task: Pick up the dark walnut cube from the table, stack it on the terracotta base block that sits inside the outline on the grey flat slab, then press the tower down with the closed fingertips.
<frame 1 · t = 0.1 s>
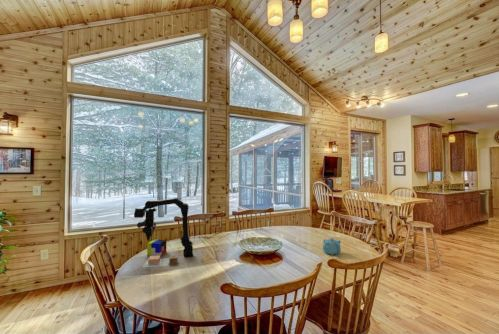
hand: (149, 238, 178), 15 cm above the table, fingers open, 9 cm apart
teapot: (332, 253, 191), on the table
walnut cube: (173, 264, 167), on the table
grey flat slab: (156, 263, 167), on the table
terracotta base: (154, 261, 169), point 1 cm above the table, touching grey flat slab
puzzle toy: (156, 254, 185), on the table
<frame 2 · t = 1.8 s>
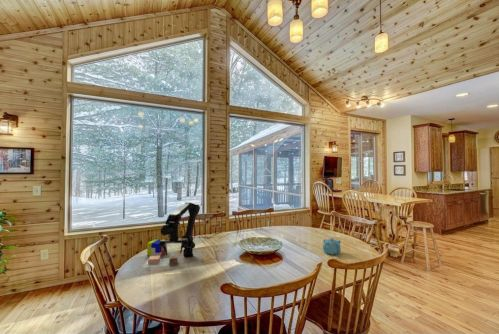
hand: (173, 254, 167), 7 cm above the table, fingers open, 9 cm apart
nothing on the table moved.
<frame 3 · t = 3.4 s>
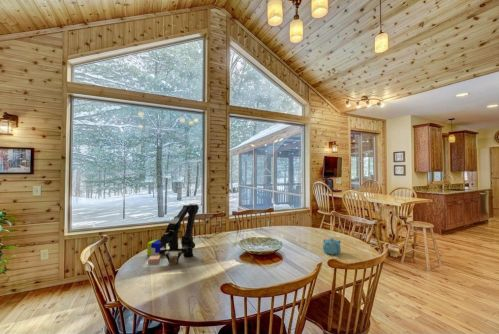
hand: (173, 262, 167), 1 cm above the table, fingers closed on walnut cube, 5 cm apart
walnut cube: (173, 264, 167), on the table, touching gripper
everything else where it was.
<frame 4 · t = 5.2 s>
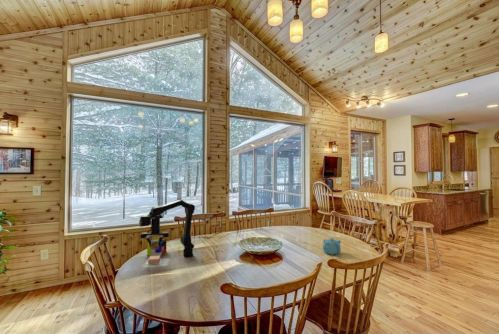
hand: (155, 247, 169), 11 cm above the table, fingers closed on walnut cube, 5 cm apart
walnut cube: (155, 248, 169), point 10 cm above the table, touching gripper
everything else where it was.
when the fingers open (6 cm above the table, at t = 6.9 s): walnut cube drops 1 cm, resting on terracotta base.
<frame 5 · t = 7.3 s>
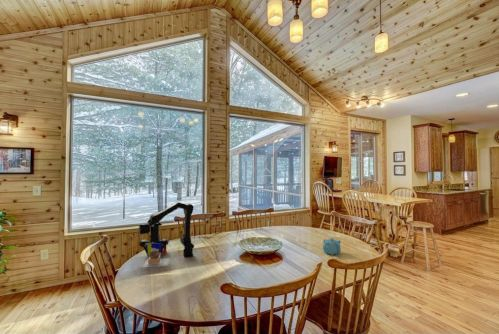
hand: (154, 254, 169), 6 cm above the table, fingers open, 9 cm apart
walnut cube: (154, 257, 169), point 4 cm above the table, touching terracotta base
terracotta base: (154, 261, 169), point 1 cm above the table, touching grey flat slab, walnut cube
everything else where it was.
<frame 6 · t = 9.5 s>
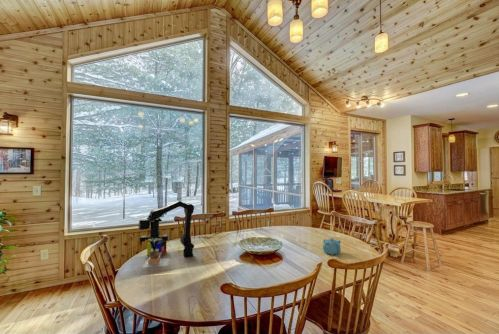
hand: (154, 250, 169), 9 cm above the table, fingers closed
nothing on the table moved.
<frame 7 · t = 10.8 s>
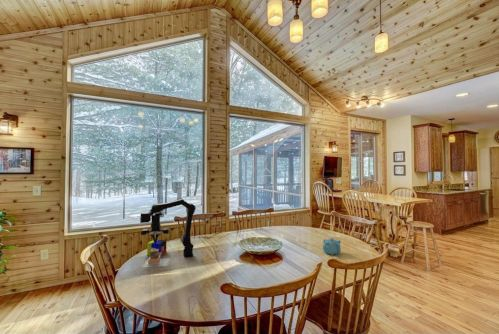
hand: (155, 243, 173), 12 cm above the table, fingers closed
nothing on the table moved.
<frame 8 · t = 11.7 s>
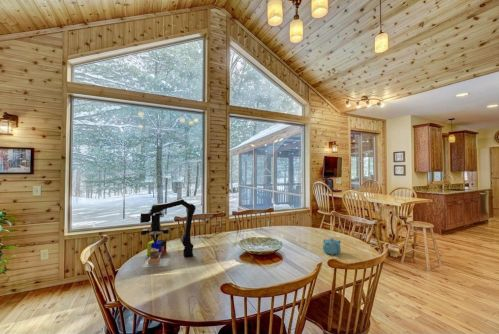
hand: (155, 243, 173), 12 cm above the table, fingers closed
nothing on the table moved.
at the end: walnut cube 0.1 cm off-centre on the terracotta base, point 3.0 cm above the terracotta base's base; walnut cube tilted 0°; terracotta base moved 0.0 cm from its start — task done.
